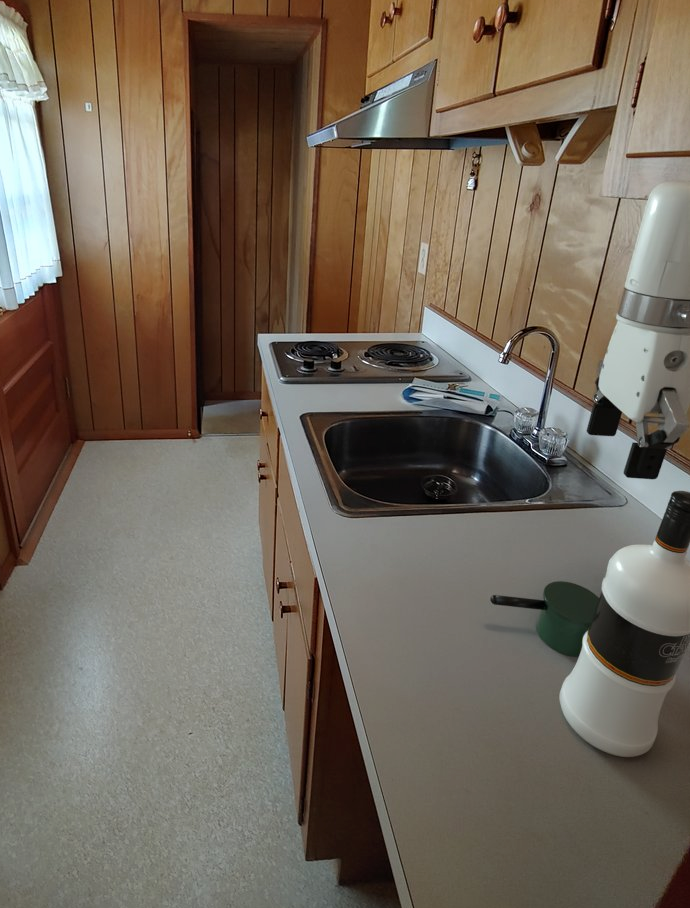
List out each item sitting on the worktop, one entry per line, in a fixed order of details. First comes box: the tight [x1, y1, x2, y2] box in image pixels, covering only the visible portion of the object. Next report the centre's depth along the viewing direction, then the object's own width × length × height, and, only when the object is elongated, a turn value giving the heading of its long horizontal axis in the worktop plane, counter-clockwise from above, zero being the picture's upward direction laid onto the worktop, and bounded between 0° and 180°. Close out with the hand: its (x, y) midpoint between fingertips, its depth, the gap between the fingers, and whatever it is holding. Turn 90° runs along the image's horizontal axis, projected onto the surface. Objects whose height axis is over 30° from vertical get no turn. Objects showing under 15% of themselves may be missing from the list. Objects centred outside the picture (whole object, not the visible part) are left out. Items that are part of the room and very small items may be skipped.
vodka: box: [558, 490, 690, 758], centre depth 56 cm, size 9×9×30 cm
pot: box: [489, 580, 600, 657], centre depth 72 cm, size 14×7×6 cm, turn 83°
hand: (618, 454), depth 63 cm, fingers open, 9 cm apart
